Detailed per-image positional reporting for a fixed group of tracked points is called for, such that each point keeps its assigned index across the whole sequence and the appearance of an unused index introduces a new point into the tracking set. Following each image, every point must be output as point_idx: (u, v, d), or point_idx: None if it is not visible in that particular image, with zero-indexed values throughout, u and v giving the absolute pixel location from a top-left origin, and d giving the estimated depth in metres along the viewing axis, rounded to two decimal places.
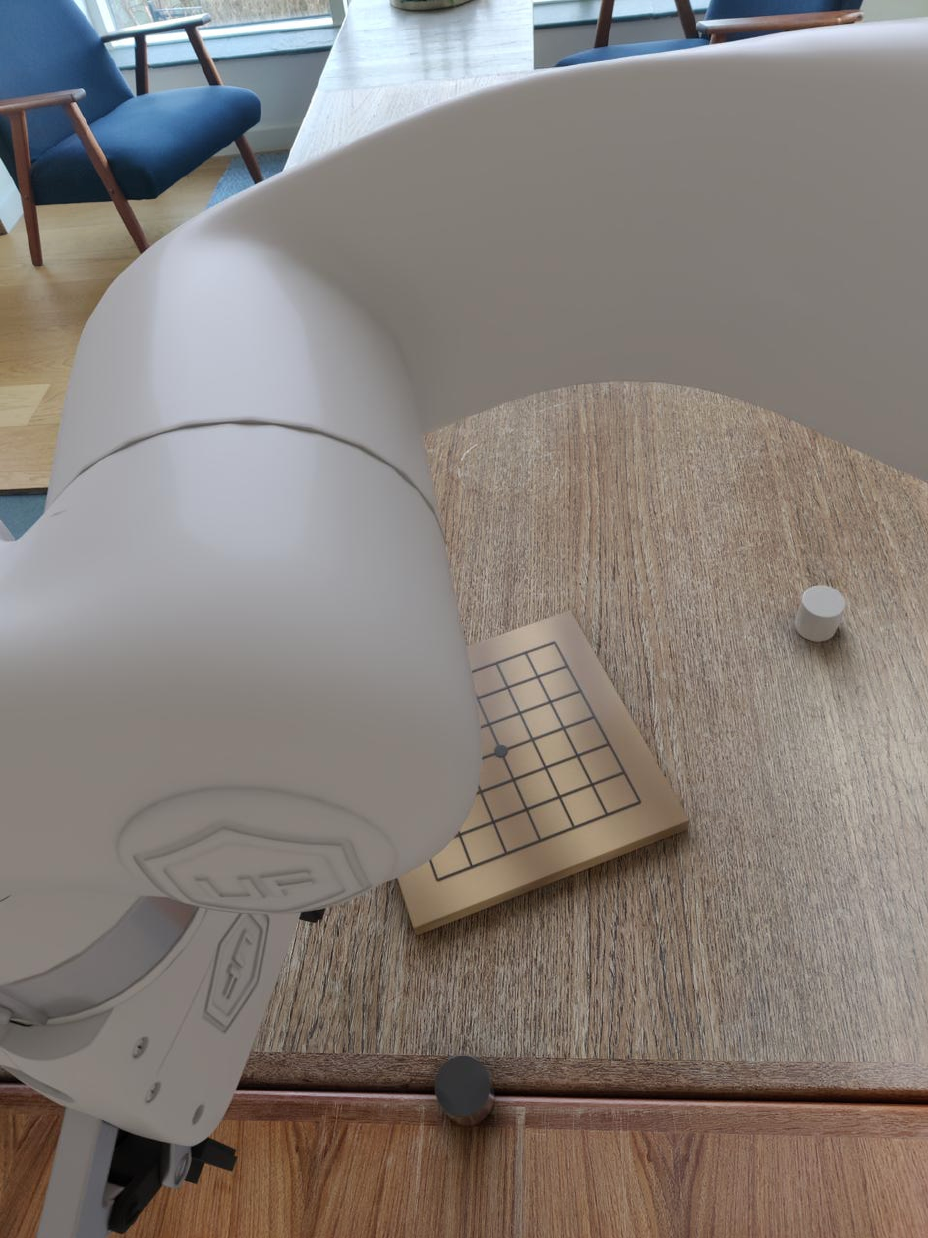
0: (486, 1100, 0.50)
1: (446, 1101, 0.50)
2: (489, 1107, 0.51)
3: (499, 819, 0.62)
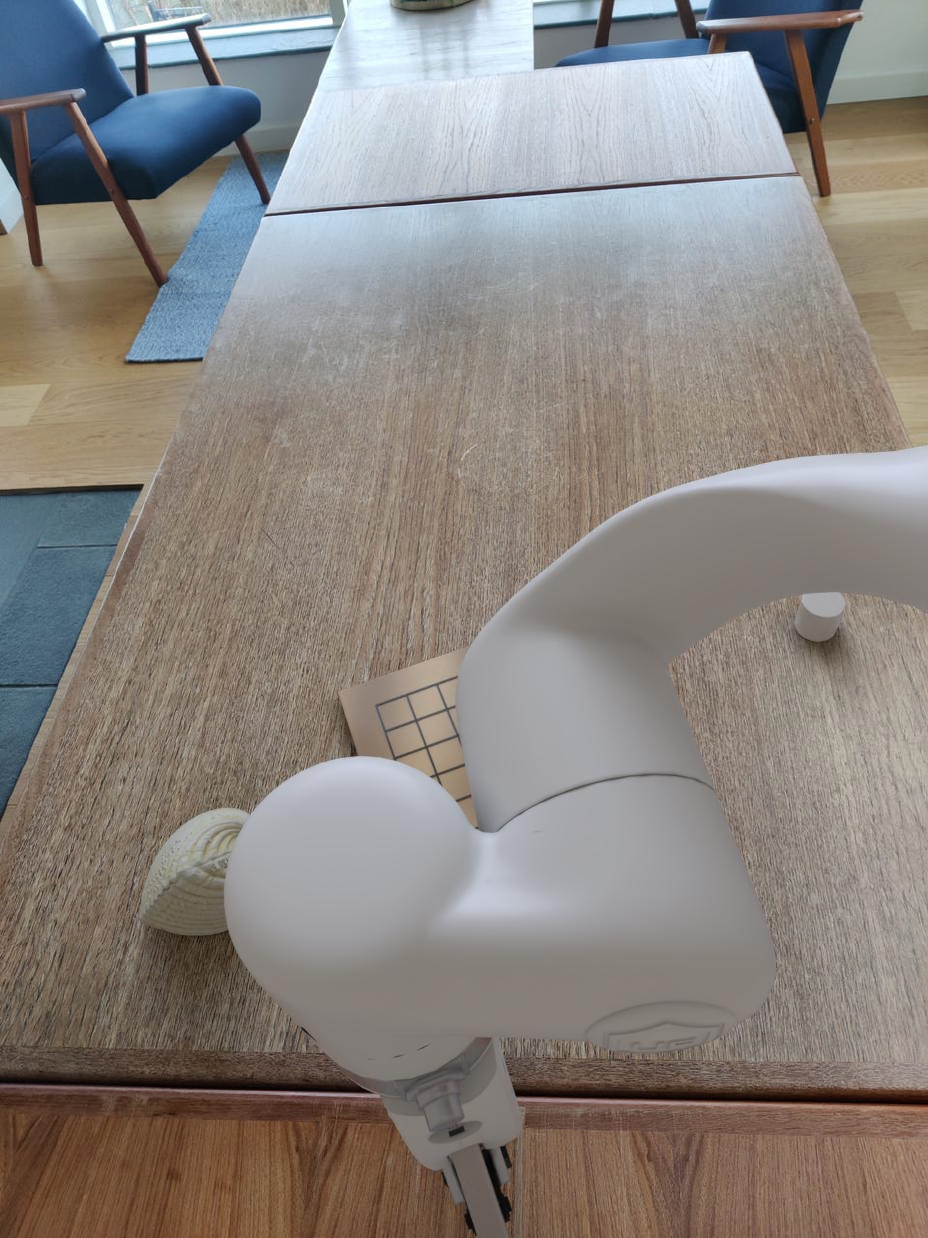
0: None
1: None
2: None
3: None
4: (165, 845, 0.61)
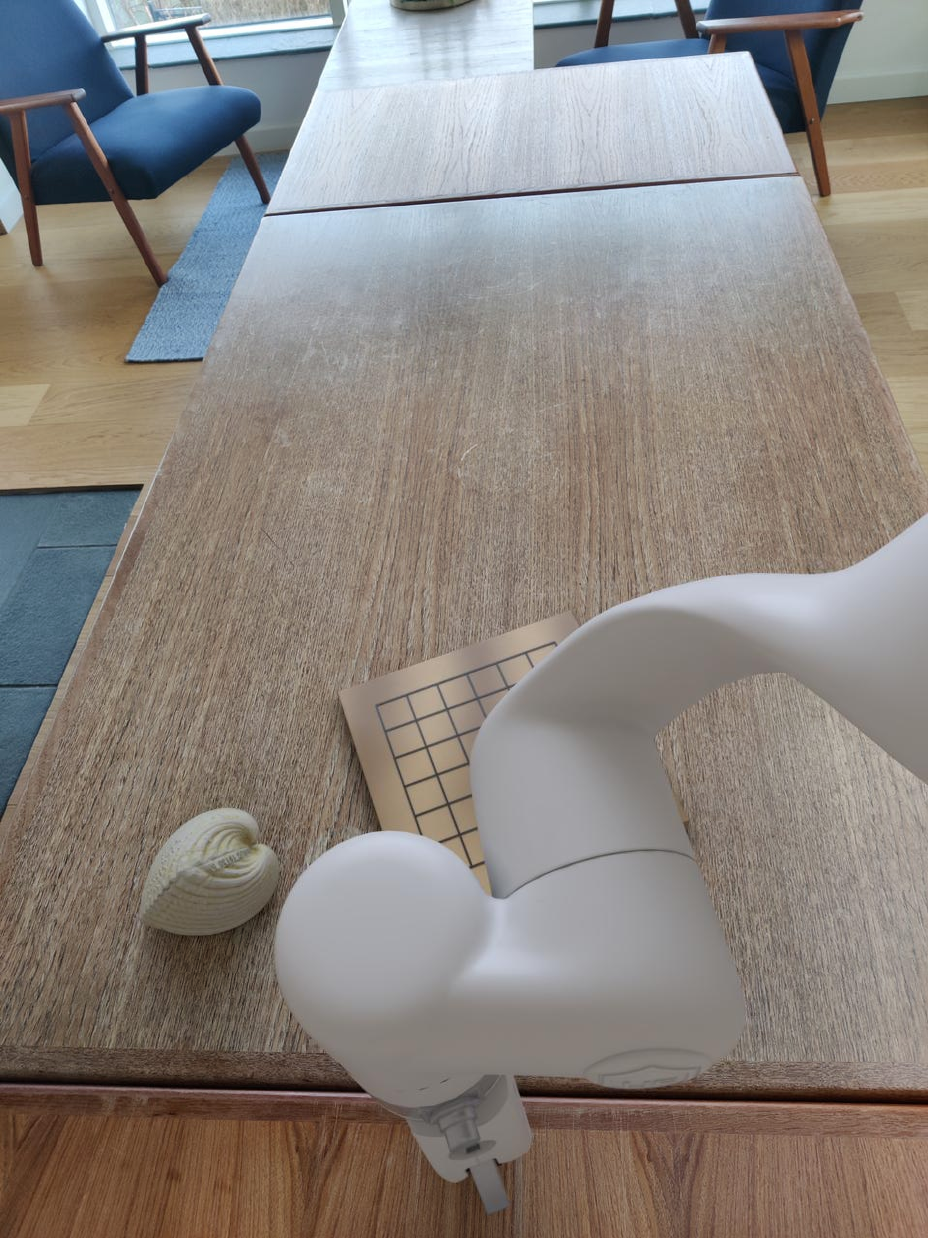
0: None
1: None
2: None
3: None
4: (165, 845, 0.61)
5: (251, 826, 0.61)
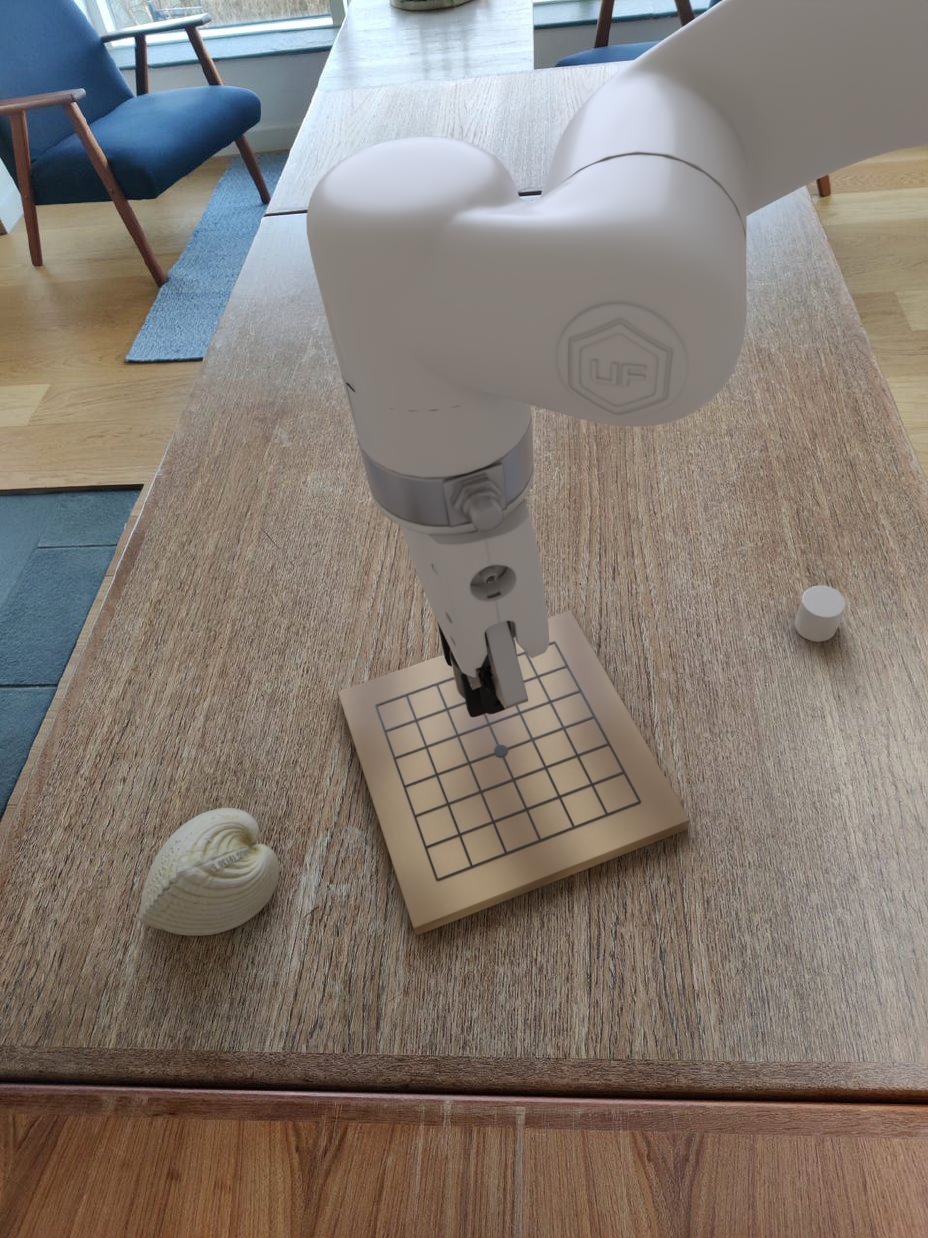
0: None
1: None
2: None
3: (499, 819, 0.62)
4: (165, 845, 0.61)
5: (251, 827, 0.61)
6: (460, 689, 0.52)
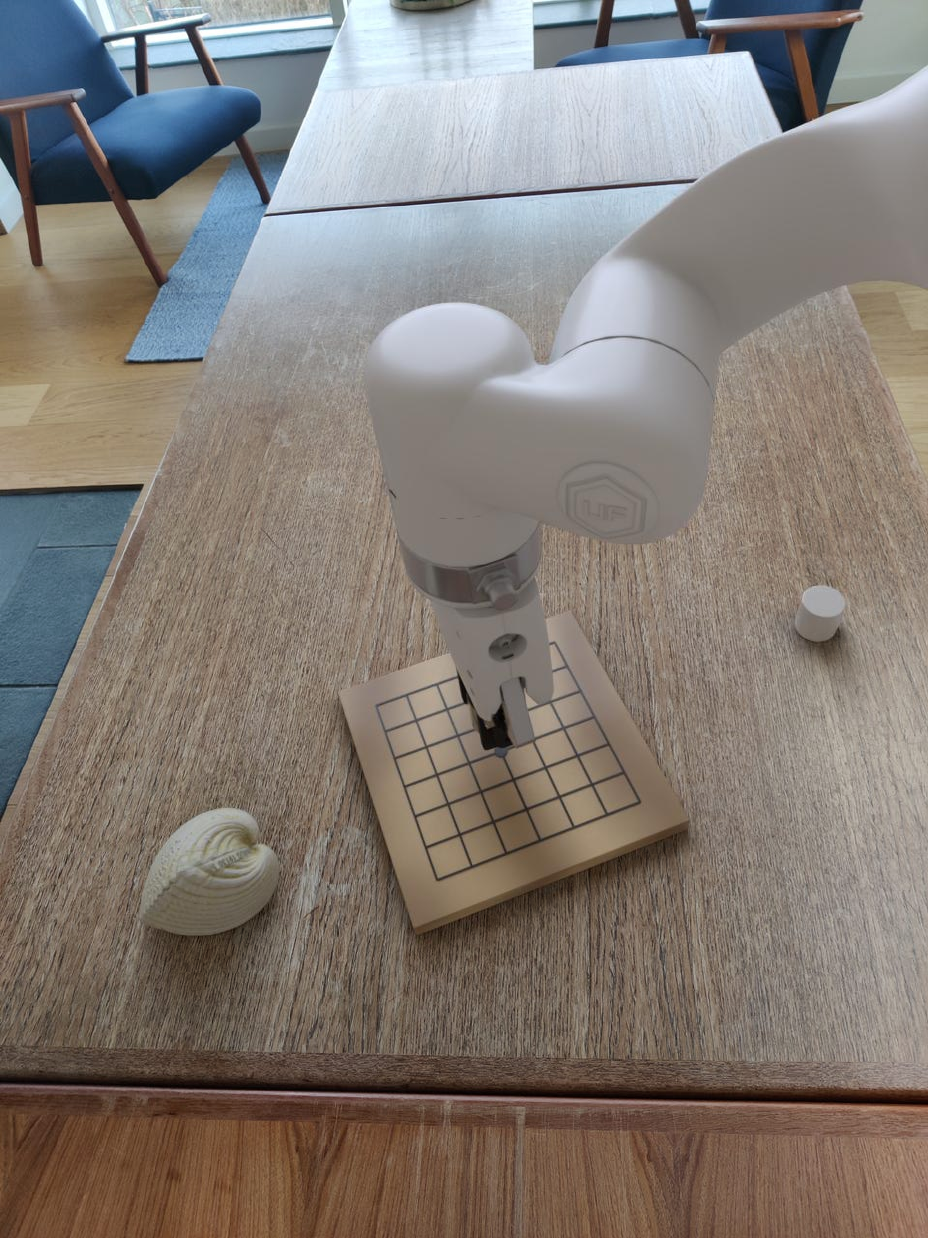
0: None
1: None
2: None
3: (499, 819, 0.62)
4: (165, 845, 0.61)
5: (251, 827, 0.61)
6: (475, 725, 0.60)
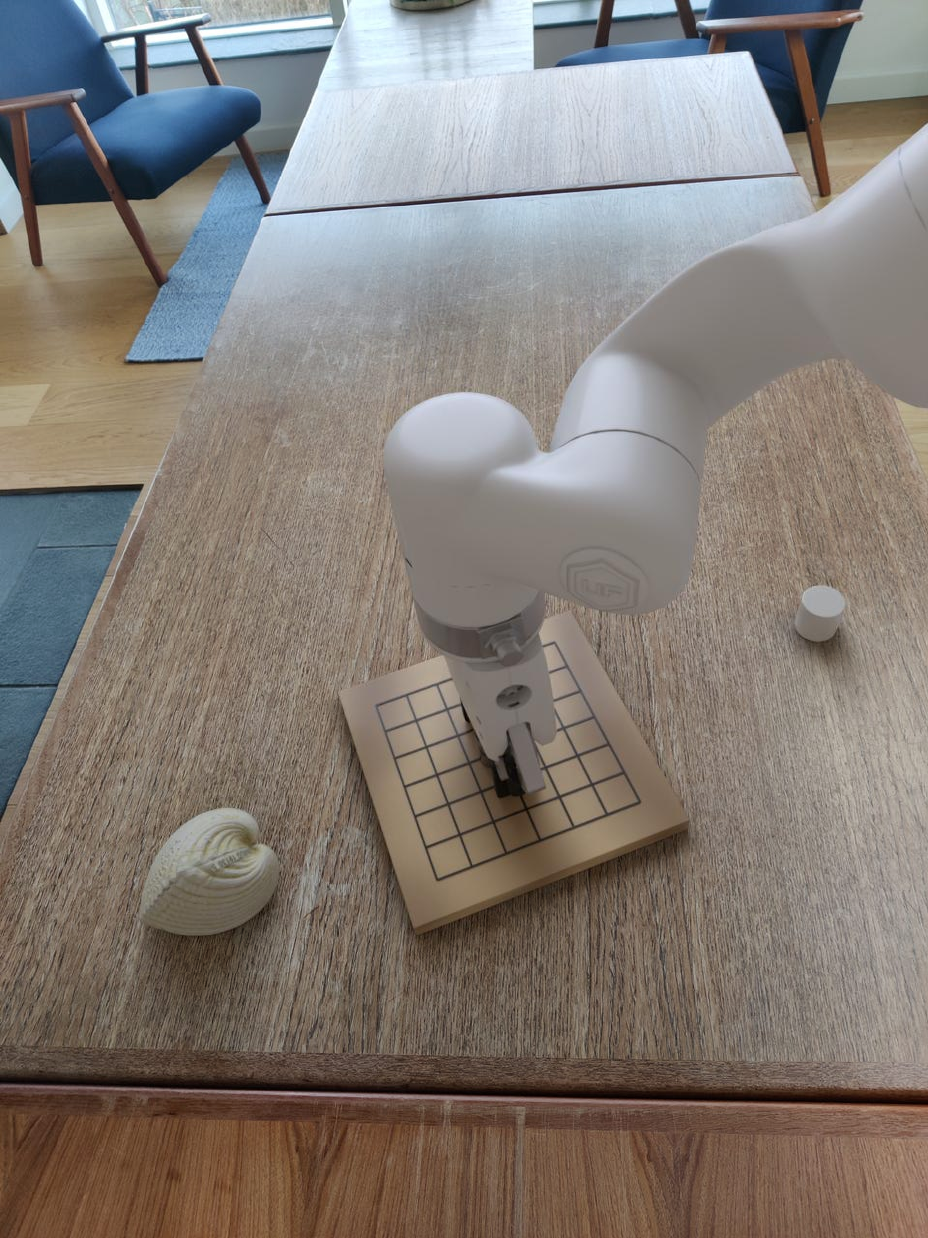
0: None
1: None
2: None
3: (499, 819, 0.62)
4: (165, 845, 0.61)
5: (251, 827, 0.61)
6: (482, 758, 0.64)
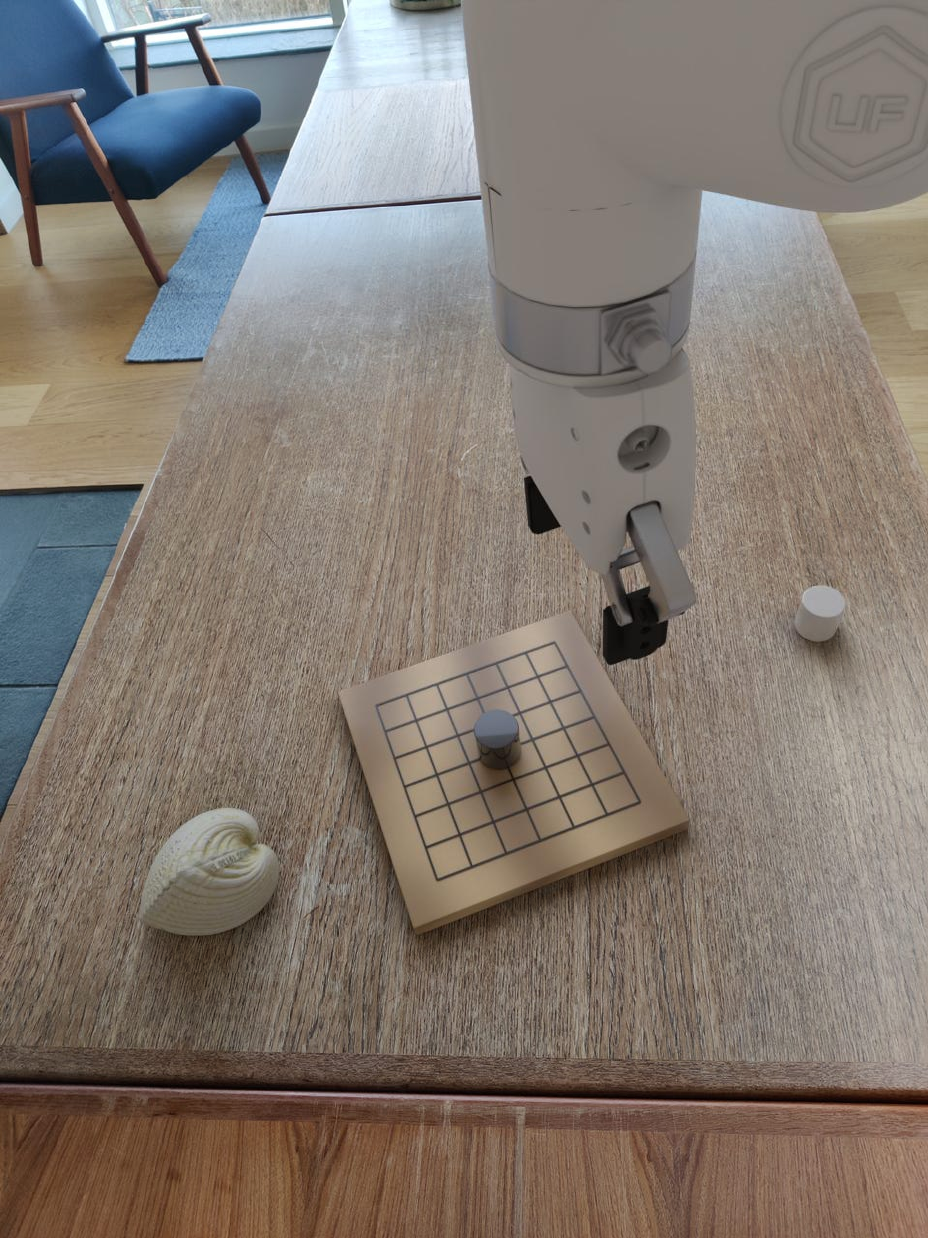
0: (515, 737, 0.62)
1: (484, 739, 0.62)
2: (517, 752, 0.63)
3: (499, 819, 0.62)
4: (165, 845, 0.61)
5: (251, 827, 0.61)
6: (482, 758, 0.64)
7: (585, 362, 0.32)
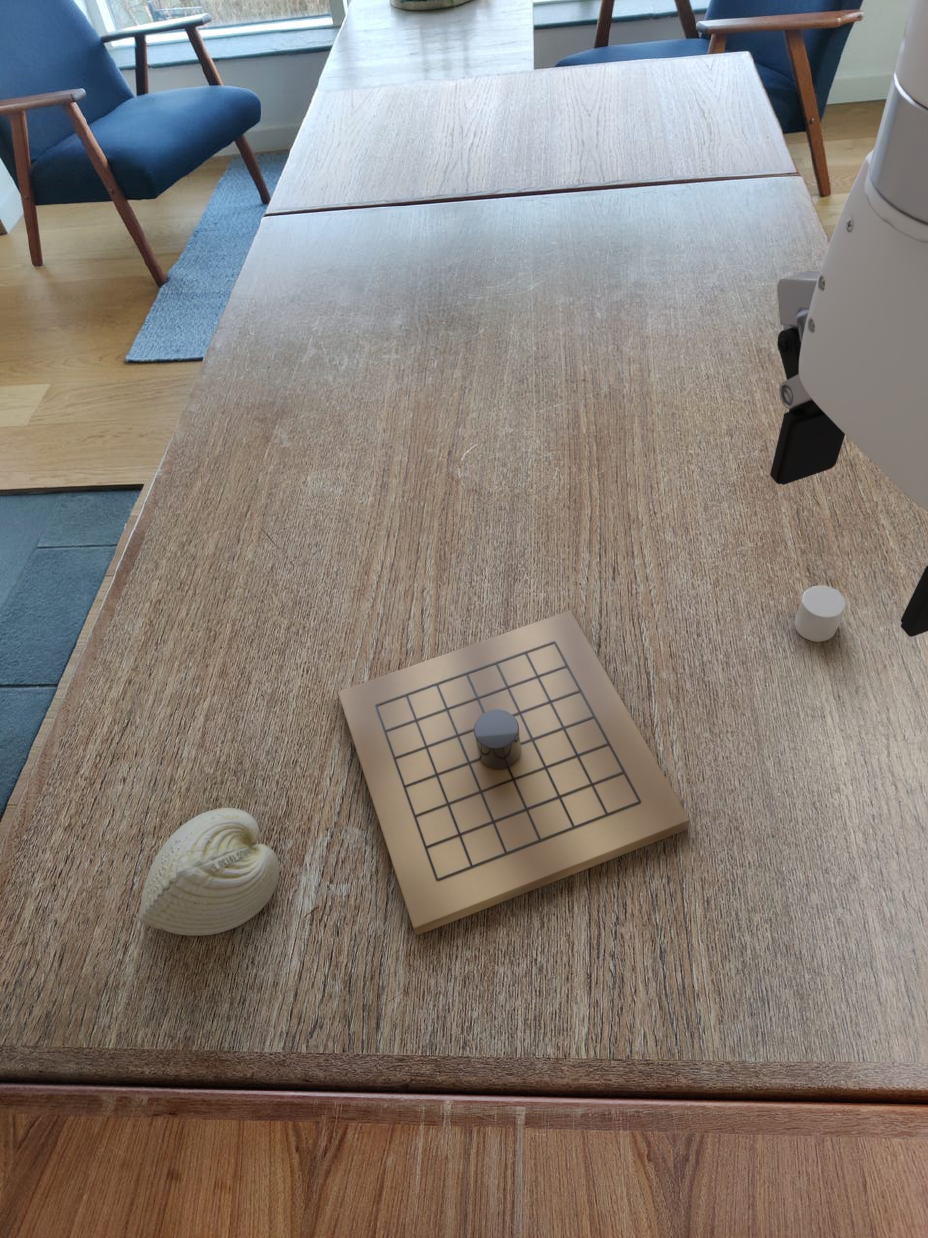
0: (515, 737, 0.62)
1: (484, 739, 0.62)
2: (517, 752, 0.63)
3: (499, 819, 0.62)
4: (165, 845, 0.61)
5: (251, 826, 0.61)
6: (482, 758, 0.64)
7: None
